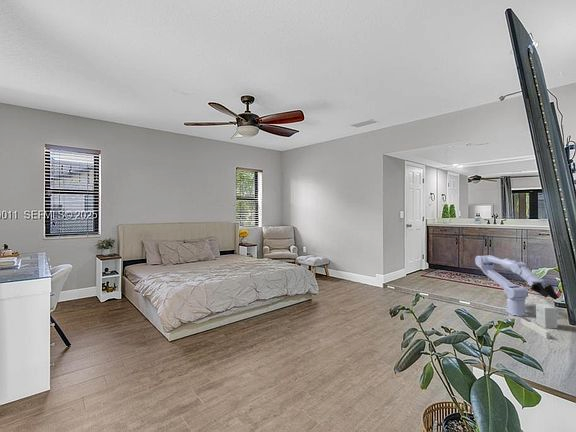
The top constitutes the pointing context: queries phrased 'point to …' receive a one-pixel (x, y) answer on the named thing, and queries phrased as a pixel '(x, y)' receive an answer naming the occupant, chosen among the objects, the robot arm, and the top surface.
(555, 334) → the top surface
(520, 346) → the top surface
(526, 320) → the light grey long bar
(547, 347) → the top surface
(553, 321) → the small box
